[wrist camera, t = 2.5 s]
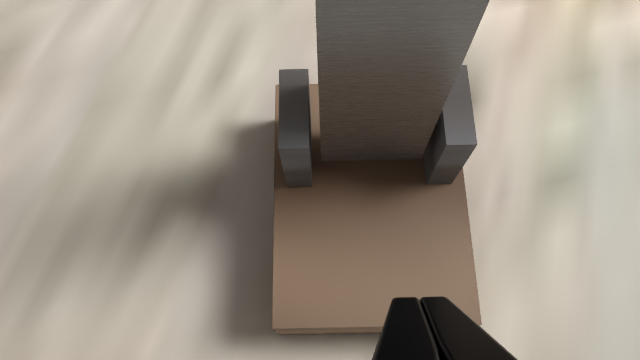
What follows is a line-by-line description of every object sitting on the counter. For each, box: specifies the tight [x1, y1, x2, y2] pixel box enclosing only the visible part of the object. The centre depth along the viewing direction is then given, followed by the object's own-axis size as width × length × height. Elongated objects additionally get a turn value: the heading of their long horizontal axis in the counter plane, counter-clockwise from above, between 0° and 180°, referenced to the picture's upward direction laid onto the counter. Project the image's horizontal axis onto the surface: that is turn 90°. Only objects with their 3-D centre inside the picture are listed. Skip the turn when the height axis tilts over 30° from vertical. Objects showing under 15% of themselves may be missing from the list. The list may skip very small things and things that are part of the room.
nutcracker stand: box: [272, 65, 482, 335], centre depth 16 cm, size 8×6×6 cm
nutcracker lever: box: [316, 0, 489, 161], centre depth 10 cm, size 3×3×12 cm
